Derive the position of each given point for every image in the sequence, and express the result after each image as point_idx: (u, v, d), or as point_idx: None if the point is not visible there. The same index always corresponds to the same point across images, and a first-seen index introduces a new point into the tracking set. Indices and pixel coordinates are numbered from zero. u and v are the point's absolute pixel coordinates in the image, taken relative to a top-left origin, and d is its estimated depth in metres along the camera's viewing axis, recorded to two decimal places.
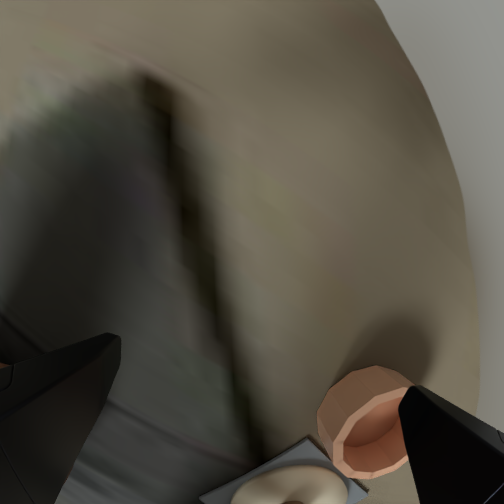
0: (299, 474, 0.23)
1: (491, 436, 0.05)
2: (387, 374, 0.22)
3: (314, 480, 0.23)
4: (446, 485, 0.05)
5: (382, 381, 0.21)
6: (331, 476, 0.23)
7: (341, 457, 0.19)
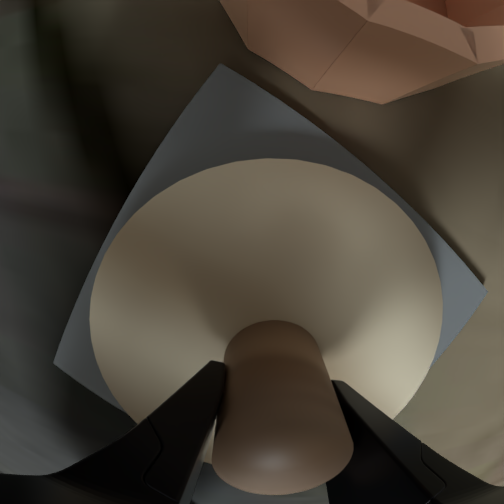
0: (228, 180, 0.08)
1: (408, 451, 0.05)
2: None
3: (299, 207, 0.08)
4: (354, 501, 0.05)
5: None
6: (355, 181, 0.08)
7: None
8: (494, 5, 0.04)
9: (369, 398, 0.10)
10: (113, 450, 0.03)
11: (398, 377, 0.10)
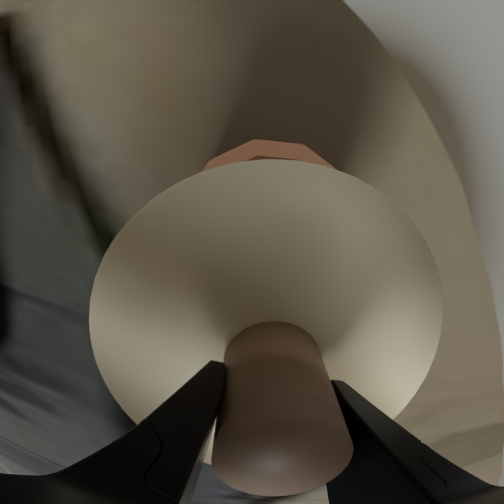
0: (228, 181, 0.08)
1: (408, 450, 0.05)
2: None
3: (299, 207, 0.08)
4: (354, 501, 0.05)
5: None
6: (355, 182, 0.08)
7: None
8: None
9: (369, 399, 0.10)
10: (113, 450, 0.03)
11: (398, 378, 0.10)
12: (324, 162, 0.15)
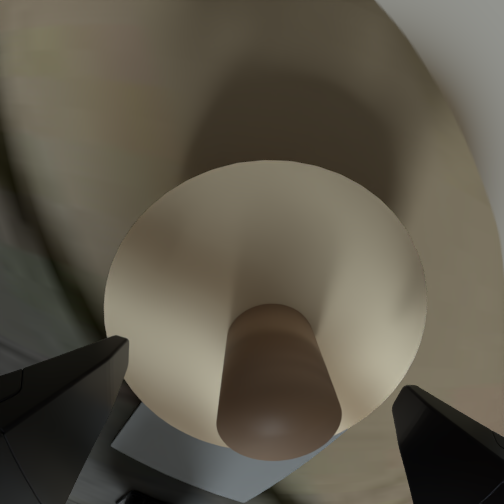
0: (231, 179, 0.09)
1: (486, 437, 0.05)
2: None
3: (293, 202, 0.09)
4: (440, 487, 0.05)
5: None
6: (343, 180, 0.09)
7: None
8: None
9: (361, 379, 0.11)
10: None
11: (387, 360, 0.11)
12: None
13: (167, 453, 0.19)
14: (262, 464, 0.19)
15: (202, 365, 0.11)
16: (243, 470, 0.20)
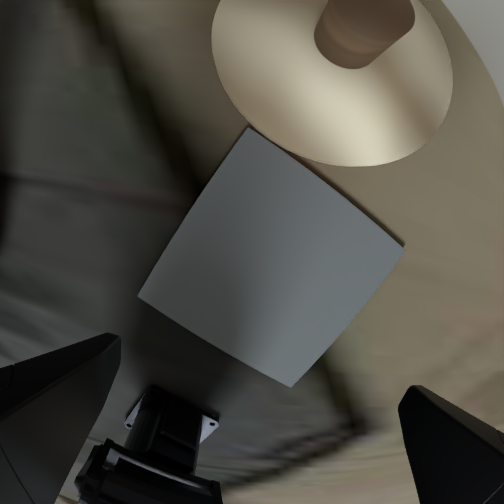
0: None
1: (491, 436, 0.05)
2: None
3: None
4: (446, 485, 0.05)
5: None
6: None
7: None
8: None
9: (418, 89, 0.12)
10: None
11: (433, 78, 0.11)
12: None
13: (208, 293, 0.20)
14: (319, 305, 0.20)
15: (294, 53, 0.11)
16: (296, 317, 0.20)
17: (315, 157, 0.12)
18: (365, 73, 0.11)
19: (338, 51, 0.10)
